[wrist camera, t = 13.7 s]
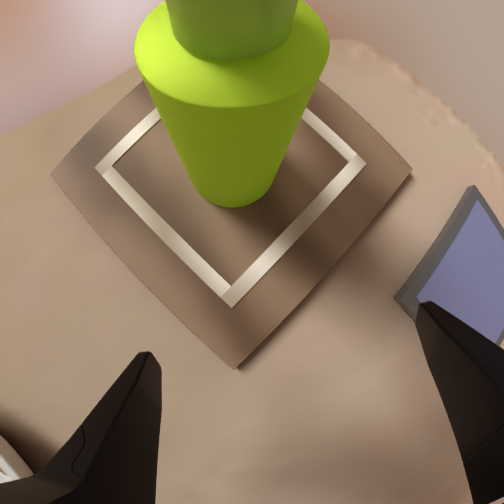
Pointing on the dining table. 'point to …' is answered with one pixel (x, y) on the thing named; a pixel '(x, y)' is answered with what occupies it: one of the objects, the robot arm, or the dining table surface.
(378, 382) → the dining table surface
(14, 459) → the soup bowl
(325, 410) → the dining table surface
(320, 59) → the soap dispenser
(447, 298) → the ink pad
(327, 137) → the board
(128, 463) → the robot arm
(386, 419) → the dining table surface
